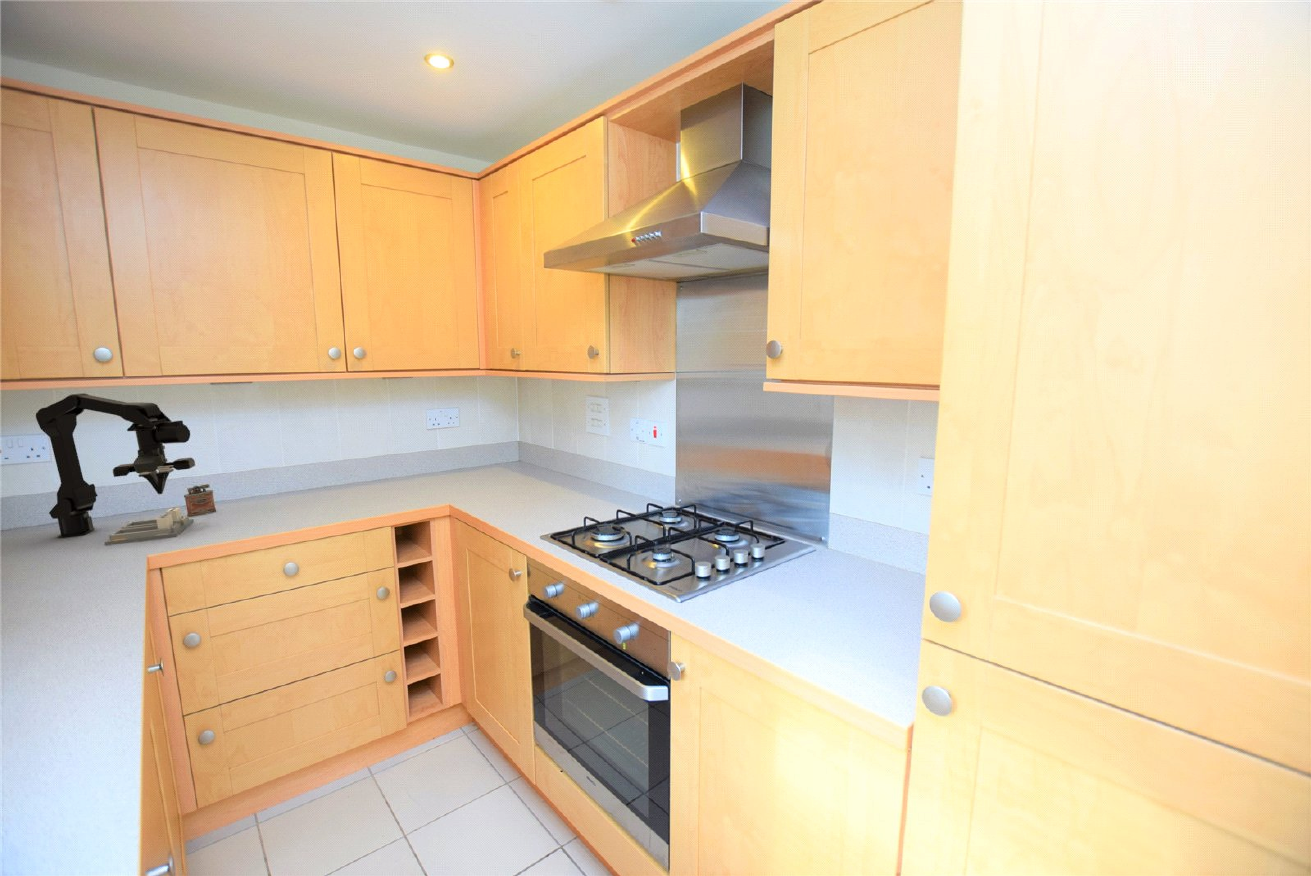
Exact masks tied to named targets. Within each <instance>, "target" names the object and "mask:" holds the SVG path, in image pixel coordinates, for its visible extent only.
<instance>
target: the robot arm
mask: <svg viewBox="0 0 1311 876" xmlns="http://www.w3.org/2000/svg"><path fill="white" fill-rule="evenodd" d="M86 410H87V411H92V412H98V413H104V414H109V415H113V416H118V417H120V418H121V419H123V420H124V421H125V422H126V421H127V422H129V423H131V426H129V427H128V428H127V429H126V431H127V432H135V437H136V441H137V446H138V449H137V457H136V458H135V459H134V461H133V462H132V463H124V464H119V465H117V466H115V467H113V469H112V475H113V477H114V478H118V477H126V476H128V475H129V474H130V473H136V474H138V475H137V476H138V477H139V478H144V479H146V480H147V482H148V483H150V485H151V486H152V488H153V489H154V490H155V492H156V493H157V495H162V494H163V493H164V490H165V486H166V484H167V479H168V477H169V474H170V473H172V472H174V470H176V471H181V470H190V469H192V468H194V467H195V466H196V463H195V461H196V460H195V459H194V458H193V457H181V458H177V459H175V460H173V461H172V462H171V461H168V458H166V454H165V449H166V447H165V445H166V444H185V443H187V442H189V440H190V438H191V431H190V429H189V428H188V426H187V425H186V424H184V421H183V420H174V421H172V420H171V419H170V418H169V417H168V416H167V415H166V414H165V413H164V412H163V411H162V410H161V409H160V407H159V406H158V404H156V403H154V402H144V401H143V402H125V401H121V400H116V399H111V398H105V397H102V396H95V395H91V394H88V393H73V394H69V395H67V396H66V397H64V398H62V399H61V400H59V401H56V402H54V403H52V404H49V405H48V406H46V407H41V408H40V409H38V411H37V412H36V413H35V419H36V422H37V424H38V427H39V428H40V430H41V431H42V432H44V434H46V435H47V436H48V437H49V440H50V443H51V448H52V453H53V457H54V459H55V463H56V468H57V473H58V476H59V480H60V486H59V488H58V490H57V492H56V502H57V503H56V504H55V505H54V506H53V508H51V510H50V511H49V513H48V514H49V515H50V517H51V518H52V519H53V520H54V519H56V520H57V522H58V528H59V532H60V534H59V535H57V538H58V539H60V538H66V537H68V538H69V537H75V536H84V535H87V534H88V533H91V532H92V531H93V530H95V529H96V528H95V527H94V523H93V519H92V516H90V513H89V511H93V509H94V504H95V503H96V502H97V497H98V494H97V492H96V485H95V483H90V484H89V483H88V482H87V481H86V480H85V479H84V476H83V473H82V468H81V465H80V464H81V463H80V460H79V455H78V452H77V447H76V444H75V439H74V432H75V430H76V428H77V425H78V422H77V421H78V420H77V417H78V416H79V415H81V414H82V413H84V411H86Z"/></svg>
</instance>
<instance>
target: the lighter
mask: <svg viewBox="0 0 1311 876" xmlns="http://www.w3.org/2000/svg"><path fill="white" fill-rule="evenodd" d="M210 488H211V485H210V484H209V483H205V484H201V485H197V484H196V485H193V486H191V487H188V488H187V492H188V493H186V494H183V498H184V501H185V505H186V512H187V513H186V516H188V518H193V517H198V516H199V517H200V516H203V515H207V514H208V513H209V514H213V513H216V512H217V509H216V505H215V498H214V490H213V489H210Z"/></svg>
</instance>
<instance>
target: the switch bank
mask: <svg viewBox="0 0 1311 876" xmlns="http://www.w3.org/2000/svg"><path fill="white" fill-rule="evenodd" d="M181 516H182V519H181V520H179V521H173V526H172V527H171V528H166V529H158V526H157V520H156V519H157V518H154V519H153V518H152V519H145V520H136V521H135V520H134V521H131V522H127V523H125V524H123V525H122V526H121V528H120V529H117V530H114V531H113V532H112V533H110V534H109V535H108V537H109V538H108V539H107V540H105V541H104V544H103V545H104V546H110V545H119V544H126V543H127V544H128V543H134V542H135V543H136V542H144V541H145V542H146V541H153V540H159V539H160V540H161V539H169V538H176V537H178V536H179V535H181V533H183V532H184V531H185V530H187V529H188V528H189V527H190V526H191V525H192V524H193V523H194V522H195V521H194V520H195V519H194V518H190V517H188V516H187V515H181ZM182 531H183V532H182Z"/></svg>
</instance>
